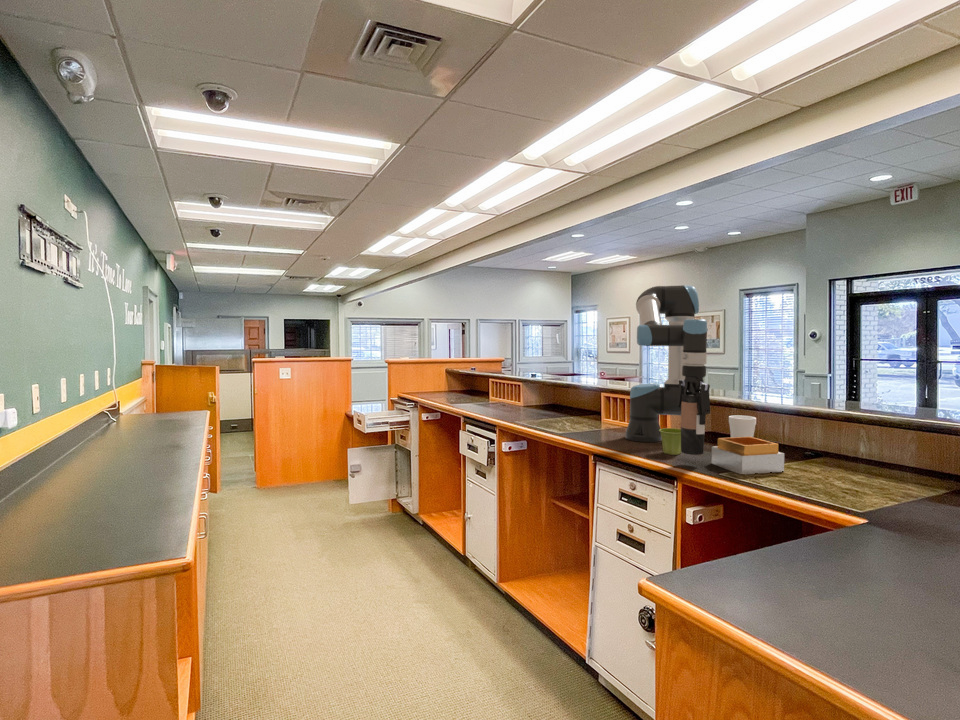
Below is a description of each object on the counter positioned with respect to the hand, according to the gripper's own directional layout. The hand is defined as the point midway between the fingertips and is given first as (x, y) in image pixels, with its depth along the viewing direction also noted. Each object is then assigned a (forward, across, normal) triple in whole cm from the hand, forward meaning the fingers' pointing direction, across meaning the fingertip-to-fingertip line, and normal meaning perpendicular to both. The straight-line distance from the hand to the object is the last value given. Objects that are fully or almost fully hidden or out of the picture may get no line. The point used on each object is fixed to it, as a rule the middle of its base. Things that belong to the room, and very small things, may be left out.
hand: (692, 431), depth 187 cm
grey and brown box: (+12, +7, +18) cm, 23 cm away
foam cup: (+12, -14, +32) cm, 37 cm away
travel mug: (+7, 0, 0) cm, 7 cm away
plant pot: (+12, -18, +4) cm, 22 cm away
